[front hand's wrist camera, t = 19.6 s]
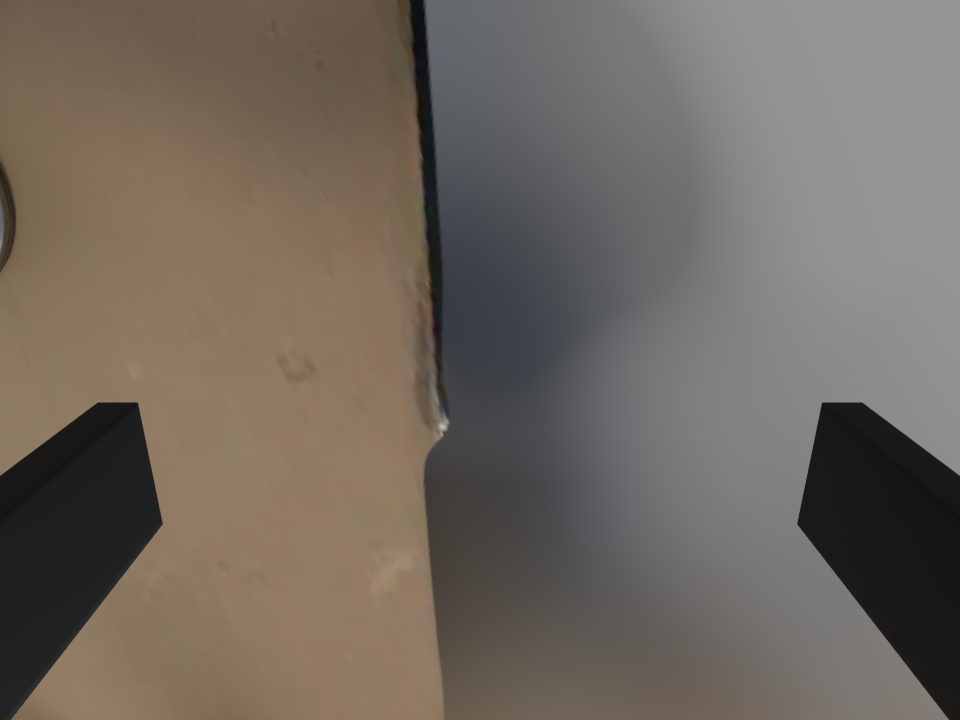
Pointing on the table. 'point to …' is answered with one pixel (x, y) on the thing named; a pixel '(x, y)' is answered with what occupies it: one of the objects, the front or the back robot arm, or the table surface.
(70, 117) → the table surface
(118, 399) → the table surface
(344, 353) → the table surface
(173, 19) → the table surface
